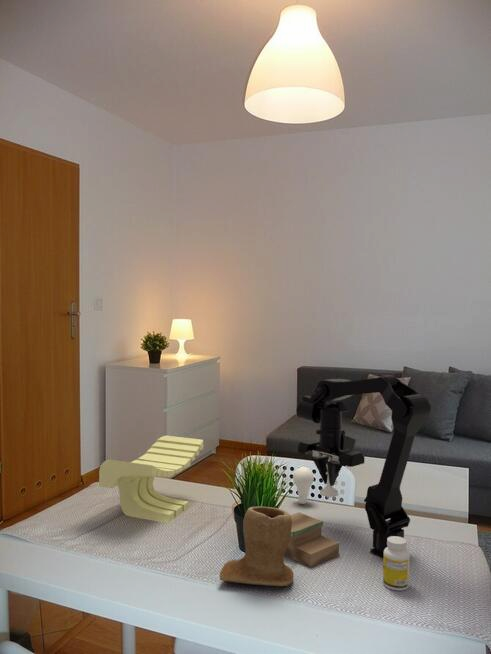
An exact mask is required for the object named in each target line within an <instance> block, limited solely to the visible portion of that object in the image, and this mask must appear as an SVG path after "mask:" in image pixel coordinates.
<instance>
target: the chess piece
mask: <svg viewBox="0 0 491 654" xmlns="http://www.w3.org/2000/svg"><path fill="white" fill-rule="evenodd" d="M328 461H332V458H331V457H329V459H328ZM326 466H327V464H326ZM327 470H328V466H327ZM326 474H328V471H327V472H326ZM319 494H320V496H323V497H327V498H335V497H338V496H339V491H338V489H335V488H334V486H331V485H330V482H329V474H328V477H327V484H325V487H324V488H322V489H320V490H319Z"/></svg>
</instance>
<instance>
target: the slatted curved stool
mask: <svg viewBox="0 0 491 654" xmlns="http://www.w3.org/2000/svg"><path fill="white" fill-rule="evenodd" d="M202 450H204V439H201V438H200V439H198V438H193V437H192V438H191V437H190V438H189V437H182V436H176V435H175V436H172V435H163V436H161V437H158V438H157V439H156V440H155V442H154V443H153V444H151V446H150V447H149V449H147V451H146V452H145V453H144V454H143V455H142V456H139V457H138V458H137V459H134V460H133V461H131V462H130V461H122V460H117V459H116V460H114V459H107V460H104V461H103V462H102V463H101V464H100V467H99V472H98V473H99V474H98V476H99V478H98V480H99V481H98V487H102V488H108V489H114V488H116V487H117V488H118V494H119V505H120V508H121V511H122V513H123V514H124V515H125V516H127V517H132V518H136V519H137V518H138V519H142V520H144V519H145V520H148V521H154V522H155V521H156V522H160V523H167V524H168V523H170V522H171V521H172V520H174V519H175V518H176V517H178V516H179V515H181V514H182V513H183V512H185V511H186V510H187V509H189V508H191V507H190V504H189V501H185V500H180V499H176V498H172V497H167V496H165V495H162V494H160V493H159V492H157V491H156V490H155V488H154V486H153V485H154V480H155V478H166V479H169V478H171V477H172V476H175V475H176V474H178V473H180V472H181V471H183V470H184V469H187V468H188V467H190V466H191V462H193V461H196V460H195V459H196V456H199V455H200V451H202Z"/></svg>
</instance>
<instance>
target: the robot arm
mask: <svg viewBox="0 0 491 654" xmlns="http://www.w3.org/2000/svg"><path fill="white" fill-rule="evenodd" d="M374 393H375V394H376V393H379V394H381V396H382V399H383V401H384V404H385V406H387V408H389V409H390V410H391V417H390V419H391V422H392V426H393V432H392V436H391V439H390V443H389V446H388V450H387V453H386V457H385V460H384V465H383V468H382V472H381V475H380V477H379V478H380V479H379V482H378V483H377V484H373V485H370V486H368V488H367V491H366V497H365V498H364V499H363V502H365V504H364V509H365V510H364V511H366V516H367V520H368V524H369V528H370V530H372V548H370V549H369V553H371V554H375V555H376V556H378V557H381V558H383V555H384V549H385V548H386V547H388V546H387V538H388V537H391V536H398V537H402V538H404V539H405V529H404V528H408V527H409V526H410V522H411V519H410V517H409V515H408V514H407V512H406V511H405V509H404V508H403V506H402V504H403V495H402V491H401V485H402V480H403V478H404V474H405V470H406V468H407V464H408V462H409V461H408V460H409V457H410V454H411V451H412V446H413V443H414V439H415V438H416V437H415V436H416V435H417V433H418V432H419V430H420V429H421V428H422V427H423V426H424V424H425V423H426V421H427V419H428V418H429V415H430V413H431V409H432V406H431V404H430V402H429V400H428V398H427V397H426V396H424V395H423V394H420V393H419V392H418V391H417V390H416V389H414V388H412V387H411V386H410V385H407V384H406V383H404V382H402V381H401V380H400V379H399V378H398V377H397V376H394V375H392V374H388V375H387V374H386V375H380V376H378V377H371V378H364V379H363V378H362V379H356V380H355V379H354V380H350V379H345V378H330V379H322V380H319V381H318V383H317V386H316V388H315V390H314V391H313V393H312V395H303V396H302V398H301V399H302V400H301V401H300V402H299V403H298V405H297V408H296V416H297V417H298V418H299V419H300V420H302V421H306V422H310V423H313V424H319V429H316V430H315V431H316V435H319V436H318V437H319V441H317V440H314V439H307V440H303V441H300V442H299V443H298V444H297V453H298V454H301V455H307V454H308V453H309V451H310V452H312V456H310V459H311V460H312V461H313V464H314V465H315V466H316V468H317V470H318V472H319V474H320V478H321V479H322V481H323V483H324V485H326V484H327V477H328V474H329V482H330V485H331V486H332V487H334V486H335V484H336V481H337V478H338V476H339V473H340V471H341V469H342V467H343V466H346V467H350V468H351V467H356V466H360V465H363V464H365V455H364V454H363V452H361V451H357V450H354V449H355V445H356V441H357V439H356V438H352V437H350V436H347V435H346V432H345V429H342V419H343V417H342V416H343V415H342V414H343V412H349V408H348V407H347V405H345V404H344V402H343V401H342V400H344V399H347V398H348V399H349V398H350V397H352V396H355V395H356V396H357V395H364V394H366V395H367V394H374ZM336 401H338V402H336ZM334 402H336V403H334ZM346 450H347V451H346ZM329 457H331V459H332V460H331V461H328V459H329ZM326 464H327V466H328V470H327V466H326ZM327 471H328V474H326V472H327Z"/></svg>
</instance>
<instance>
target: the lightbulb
mask: <svg viewBox="0 0 491 654" xmlns="http://www.w3.org/2000/svg"><path fill="white" fill-rule="evenodd" d="M314 478H315V476H314V473H313V471H312V470H311V469H310V468H309V467H307V466H300V467H298V468H297V469H295V471H294V472H293V474H292V480H293V483H294V485H295V487H296V489H297V495H298V503H299V504H301V505H305V504H306V503H308V497H309V492H310V488H311V486H312V485H313V483H314V481H315V480H314Z"/></svg>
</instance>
